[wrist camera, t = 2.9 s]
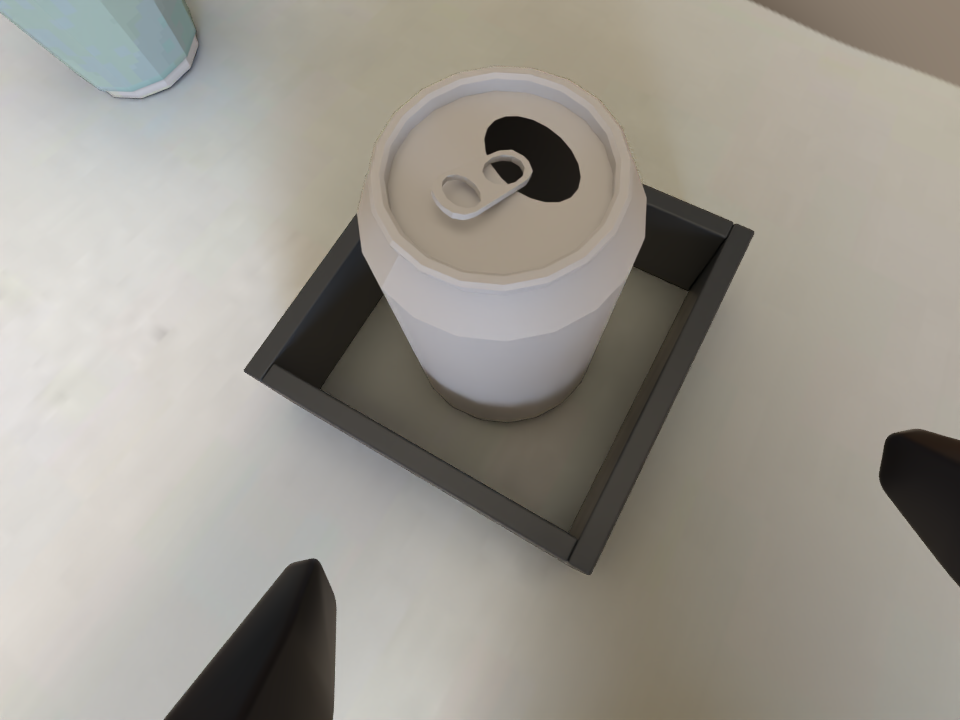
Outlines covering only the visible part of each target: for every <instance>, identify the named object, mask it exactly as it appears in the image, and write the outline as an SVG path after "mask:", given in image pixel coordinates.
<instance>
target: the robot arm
mask: <svg viewBox="0 0 960 720" xmlns="http://www.w3.org/2000/svg"><path fill="white" fill-rule="evenodd" d="M879 480H880V483H881V486H882V488H883V490H884V491H885V493H886V494H887V496H888V497H889V498H890V499H891V501H892V502H893V503H894V505H895V506H896V507H897V508H898V510H899V511H900V512H901V514H902V515H903V516H904V518H905V519H906V520H907V521H908V523H909V524H910V525H911V527H912V528H913V529H914V530H915V532H916V533H917V534H918V536H919V537H920V538H921V540H922V541H923V542H924V543H925V545H926V546H927V547H928V549H929V550H930V551H931V553H932V554H933V555H934V556H935V558H936V559H937V560H938V562H939V563H940V564H941V565H942V567H943V568H944V569H945V570H946V571H947V573H948V574H949V575H950V576H951V578H952V579H953V580H954V581H955V582H956V583H957V584H958V585H959V587H960V440H957V439H953V438H950V437H946V436H943V435H939V434H936V433H933V432H929V431H926V430H922V429H910V430H906V431H901V432H897V433H893V434H891V435H889V436H888V437H887V439H886V441H885V445H884V450H883V455H882V461H881V466H880V471H879ZM335 647H336V600H335V596H334V593H333V590H332V588H331V586H330V584H329V581H328V579H327V577H326V574H325V572H324V570H323V568H322V565H321V563H320V562H319V561H318V560H317V559H308V560H303V561H298V562H294V563H291V564H290V565H289V566H287V567H286V569H285V570H284V571H283V572H282V574H281V575H280V576H279V577H278V578H277V580H276V581H275V582H274V583H273V585H272V586H271V587H270V588H269V590H268V591H267V592H266V593H265V595H264V596H263V597H262V598H261V600H260V601H259V602H258V603H257V605H256V606H255V607H254V608H253V609H252V611H251V612H250V613H249V614H248V616H247V617H246V618H245V619H244V621H243V622H242V623H241V624H240V626H239V627H238V628H237V629H236V631H235V632H234V633H233V634H232V635H231V637H230V638H229V639H228V640H227V642H226V643H225V644H224V645H223V647H222V648H221V649H220V650H219V652H218V653H217V654H216V655H215V657H214V658H213V659H212V660H211V662H210V663H209V664H208V665H207V666H206V668H205V669H204V670H203V671H202V673H201V674H200V675H199V676H198V678H197V679H196V680H195V681H194V683H193V684H192V685H191V686H190V688H189V689H188V690H187V691H186V692H185V694H184V695H183V696H182V697H181V699H180V700H179V701H178V702H177V704H176V705H175V706H174V707H173V709H172V710H171V711H170V712H169V714H168V715H167V716H166V717H165V718H164V720H333V712H334V687H335Z"/></svg>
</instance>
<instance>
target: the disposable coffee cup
mask: <svg viewBox="0 0 960 720" xmlns="http://www.w3.org/2000/svg"><path fill="white" fill-rule="evenodd" d="M0 13H1V14H2V15H4V16H5V17H6V18H7V19H9V20H10V21H11V22H12V23H14V24H15V25H16V26H17V27H19V28H20V29H21V30H22V31H24V32H25V33H26V34H27V35H29V36H30V37H31V38H33V39H34V40H35V41H36V42H38V43H39V44H40V45H41V46H43V47H44V48H45V49H46V50H48V51H49V52H50V53H51V54H53V55H54V56H55V57H56V58H58V59H59V60H60V61H61V62H63V63H64V64H65V65H67V66H68V67H69V68H70V69H72V70H73V71H74V72H75V73H77V74H78V75H79V76H80V77H82V78H83V79H85V80H86V81H88V82H89V83H90V84H92V85H93V86H95V87H96V88H98V89H99V90H101V91H106V92H108V93H109V94H111V95H112V96H114V97H124V98H144V97H146V96H149V95H152V94H154V93H157V92H159V91H162V90H164V89H167V88H169V87H171V86H172V85H173V84H174V83H175V82H176V81H177V80H178V79H179V78H180V77H181V76H182V75H183V74H184V73H185V72H186V71H188V70H189V69H190V68H191V65H192V62H193V59H194V57H195V54H196V51H197V48H198V45H199V44H198V41H197V38H196V35H195V33H196V29H195V26H194V23H193V20H192V17H191V14H190V11H189V8H188V6H187V4H186V2H185V0H0Z"/></svg>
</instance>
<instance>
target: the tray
mask: <svg viewBox="0 0 960 720" xmlns="http://www.w3.org/2000/svg"><path fill="white" fill-rule="evenodd" d="M642 185H643V188H644V191H645V194H646V197H647V201H646V224H645V239H644V241H643V243H642V246H641V248H640V250H639V252H638V255H637V257H636V259H635V262H634V264H633V266H635V267H637V268H640V269H642V270H644V271H646V272H648V273H651V274H653V275H655V276H657V277H659V278H661V279H664V280H666V281H668V282H670V283H672V284H675V285H677V286H679V287H681V288H683V289H686V290H689V292H688V294H687V296H686V298H685V300H684V302H683V304H682V306H681V308H680V310H679V312H678V314H677V316H676V318H675V320H674V322H673V324H672V326H671V328H670V330H669V332H668V334H667V336H666V338H665V340H664V342H663V344H662V346H661V348H660V350H659V352H658V354H657V356H656V358H655V360H654V362H653V364H652V366H651V368H650V370H649V372H648V374H647V376H646V378H645V380H644V382H643V384H642V386H641V388H640V390H639V392H638V394H637V396H636V398H635V400H634V402H633V404H632V406H631V408H630V410H629V412H628V414H627V416H626V418H625V420H624V422H623V424H622V426H621V428H620V430H619V432H618V434H617V436H616V438H615V440H614V442H613V444H612V446H611V448H610V450H609V452H608V454H607V456H606V458H605V460H604V462H603V464H602V466H601V468H600V470H599V472H598V474H597V476H596V478H595V480H594V482H593V484H592V486H591V488H590V490H589V492H588V494H587V496H586V498H585V500H584V502H583V504H582V506H581V508H580V510H579V512H578V514H577V516H576V518H575V520H574V522H573V524H572V526H571V528H570V530H569V532H568V533H567V532H566V531H564V530H562V529H560V528H559V527H557V526H555V525H553V524H552V523H550V522H548V521H547V520H545V519H543V518H541V517H540V516H538V515H536V514H534V513H533V512H531V511H529V510H528V509H526V508H524V507H522V506H521V505H519V504H517V503H515V502H514V501H512V500H510V499H509V498H507V497H505V496H503V495H502V494H500V493H498V492H496V491H495V490H493V489H491V488H490V487H488V486H486V485H484V484H483V483H481V482H479V481H477V480H476V479H474V478H472V477H471V476H469V475H467V474H465V473H464V472H462V471H460V470H458V469H457V468H455V467H453V466H452V465H450V464H448V463H446V462H445V461H443V460H441V459H439V458H438V457H436V456H434V455H433V454H431V453H429V452H427V451H426V450H424V449H422V448H420V447H419V446H417V445H415V444H414V443H412V442H410V441H408V440H407V439H405V438H403V437H401V436H400V435H398V434H396V433H395V432H393V431H391V430H389V429H388V428H386V427H384V426H382V425H381V424H379V423H377V422H376V421H374V420H372V419H370V418H369V417H367V416H365V415H363V414H362V413H360V412H358V411H357V410H355V409H353V408H351V407H350V406H348V405H346V404H344V403H343V402H341V401H339V400H338V399H336V398H334V397H332V396H331V395H329V394H327V393H325V392H324V391H322V390H320V387H321V386H322V384H323V383H324V381H325V380H326V378H327V377H328V375H329V374H330V372H331V371H332V369H333V368H334V366H335V365H336V363H337V362H338V360H339V359H340V357H341V356H342V354H343V353H344V351H345V350H346V348H347V347H348V345H349V344H350V343H351V341H352V340H353V338H354V337H355V335H356V334H357V332H358V331H359V329H360V328H361V326H362V325H363V323H364V322H365V320H366V319H367V317H368V316H369V314H370V313H371V311H372V310H373V308H374V307H375V305H376V304H377V302H378V301H379V299H380V298H381V296H382V295H383V292H382V290H381V288H380V286H379V284H378V282H377V280H376V278H375V276H374V274H373V272H372V270H371V269H370V267H369V265H368V263H367V261H366V259H365V257H364V255H363V253H362V248H361V241H360V233H359V225H358V217H357V214H356V215H355V216H354V218H353V219H352V221H351V222H350V223H349V225H348V226H347V228H346V229H345V230H344V232H343V233H342V234H341V236H340V237H339V239H338V240H337V241H336V243H335V244H334V246H333V247H332V248H331V250H330V251H329V253H328V254H327V255H326V257H325V258H324V259H323V261H322V262H321V264H320V265H319V266H318V268H317V269H316V271H315V272H314V273H313V275H312V276H311V277H310V279H309V280H308V282H307V283H306V284H305V286H304V287H303V289H302V290H301V291H300V293H299V294H298V296H297V297H296V298H295V300H294V301H293V302H292V304H291V305H290V307H289V308H288V309H287V311H286V312H285V314H284V315H283V316H282V318H281V319H280V321H279V322H278V323H277V325H276V326H275V327H274V329H273V330H272V332H271V333H270V334H269V336H268V337H267V339H266V340H265V341H264V343H263V344H262V346H261V347H260V348H259V350H258V351H257V352H256V354H255V355H254V357H253V358H252V359H251V361H250V362H249V364H248V365H247V366H246V368H245V369H244V372H245V373H247V374H248V375H250V376H252V377H253V378H255V379H256V380H258V381H260V382H261V383H263V384H264V385H266V386H268V387H269V388H271V389H272V390H274V391H276V392H277V393H279V394H280V395H282V396H283V397H285V398H287V399H288V400H290V401H291V402H293V403H295V404H297V405H298V406H300V407H302V408H303V409H305V410H307V411H308V412H310V413H312V414H313V415H315V416H317V417H318V418H320V419H322V420H324V421H325V422H327V423H329V424H330V425H332V426H334V427H335V428H337V429H339V430H340V431H342V432H344V433H345V434H347V435H349V436H351V437H352V438H354V439H356V440H357V441H359V442H361V443H362V444H364V445H366V446H367V447H369V448H371V449H373V450H374V451H376V452H378V453H379V454H381V455H383V456H384V457H386V458H388V459H389V460H391V461H393V462H394V463H396V464H398V465H400V466H401V467H403V468H405V469H406V470H408V471H410V472H411V473H413V474H415V475H416V476H418V477H420V478H421V479H423V480H425V481H427V482H428V483H430V484H432V485H433V486H435V487H437V488H438V489H440V490H442V491H443V492H445V493H447V494H449V495H450V496H452V497H454V498H455V499H457V500H459V501H460V502H462V503H464V504H465V505H467V506H469V507H470V508H472V509H474V510H476V511H477V512H479V513H481V514H482V515H484V516H486V517H487V518H489V519H491V520H492V521H494V522H496V523H497V524H499V525H501V526H503V527H504V528H506V529H508V530H509V531H511V532H513V533H514V534H516V535H518V536H519V537H521V538H523V539H524V540H526V541H528V542H530V543H531V544H533V545H535V546H536V547H538V548H540V549H541V550H543V551H545V552H546V553H548V554H550V555H552V556H553V557H555V558H557V559H558V560H560V561H562V562H563V563H565V564H567V565H568V566H570V567H572V568H574V569H576V570H578V571H580V572H582V573H584V574H587V575H590V574H592V572H593V569H594V567H595V565H596V563H597V561H598V559H599V557H600V555H601V553H602V551H603V549H604V546H605V544H606V542H607V540H608V538H609V536H610V534H611V532H612V530H613V528H614V526H615V524H616V521H617V519H618V517H619V515H620V513H621V511H622V509H623V507H624V505H625V503H626V501H627V498H628V496H629V494H630V492H631V490H632V488H633V486H634V484H635V482H636V480H637V478H638V475H639V473H640V471H641V469H642V467H643V465H644V463H645V461H646V459H647V457H648V455H649V452H650V450H651V448H652V446H653V444H654V442H655V440H656V438H657V436H658V434H659V432H660V429H661V427H662V425H663V423H664V421H665V419H666V417H667V415H668V413H669V411H670V409H671V406H672V404H673V402H674V400H675V398H676V396H677V394H678V392H679V390H680V388H681V386H682V383H683V381H684V379H685V377H686V375H687V373H688V371H689V369H690V367H691V365H692V363H693V361H694V358H695V356H696V354H697V352H698V350H699V348H700V346H701V344H702V342H703V340H704V338H705V335H706V333H707V331H708V329H709V327H710V325H711V323H712V321H713V319H714V317H715V315H716V312H717V310H718V308H719V306H720V304H721V302H722V300H723V298H724V296H725V294H726V292H727V289H728V287H729V285H730V283H731V281H732V279H733V277H734V275H735V273H736V271H737V269H738V266H739V264H740V262H741V260H742V258H743V256H744V254H745V252H746V250H747V248H748V246H749V243H750V241H751V239H752V237H753V235H754V231H753V230H751V229H748V228H746V227H744V226H741V225H739V224H734V225H733V222H732V221H729V220H727V219H725V218H722V217H720V216H718V215H715V214H713V213H710V212H708V211H706V210H703V209H701V208H699V207H696V206H694V205H692V204H689V203H687V202H684V201H682V200H680V199H677V198H675V197H673V196H670V195H668V194H665V193H663V192H661V191H658V190H656V189H654V188H651V187H649V186H647V185H644V184H642Z"/></svg>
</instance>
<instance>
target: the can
mask: <svg viewBox="0 0 960 720" xmlns="http://www.w3.org/2000/svg"><path fill="white" fill-rule="evenodd" d="M646 201H647V197H646V194H645V191H644V188H643V185H642V182H641V179H640V176H639V173H638V170H637V167H636V164H635V161H634V160H633V158H632V155H631V152H630V149H629V146H628V143H627V140H626V137H625V134H624V131H623V128H622V127H621V126H620V124H619V123H618V122H617V121H616V119H615V118H614V117H613V116H612V114H611V113H610V112H609V111H608V109H607V108H606V107H605V106H604V104H603V103H602V102H601V100H599V99H598V98H596V97H595V96H593V95H592V94H590V93H589V92H587V91H586V90H584V89H583V88H581V87H580V86H578V85H577V84H575V83H574V82H572V81H571V80H569V79H566V78H562V77H559V76H556V75H553V74H550V73H547V72H544V71H541V70H538V69H534V68H523V67H506V66H491V67H486V68H480V69H475V70H470V71H465V72H459V73H455V74H453V75H451V76H449V77H447V78H445V79H443V80H440V81H438V82H436V83H434V84H432V85H430V86H428V87H425V88H423V89H421V90H420V91H419V92H418V93H417V94H416V95H414V96H413V97H412V98H411V99H410V100H409V101H407V102H406V103H405V104H404V105H403V106H401V107H400V108H399V109H398V110H397V111H396V112H394V113H393V115H392V117H391V118H390V120H389V121H388V123H387V124H386V126H385V128H384V129H383V131H382V132H381V134H380V136H379V137H378V139H377V140H376V142H375V144H374V148H373V152H372V157H371V161H370V165H369V169H368V173H367V174H366V177H365V181H364V185H363V189H362V194H361V198H360V202H359V207H358V211H357V217H358V225H359V233H360V241H361V248H362V253H363V255H364V257H365V259H366V261H367V263H368V265H369V267H370V269H371V270H372V272H373V274H374V276H375V278H376V280H377V282H378V284H379V286H380V288H381V290H382V292H383V293H384V295H385V297H386V299H387V301H388V303H389V305H390V307H391V309H392V311H393V313H394V315H395V317H396V318H397V320H398V322H399V324H400V326H401V328H402V330H403V332H404V334H405V336H406V338H407V340H408V342H409V343H410V345H411V347H412V349H413V351H414V353H415V355H416V357H417V359H418V361H419V363H420V365H421V366H422V368H423V370H424V372H425V374H426V376H427V378H428V380H429V381H430V383H431V385H432V387H433V389H434V390H436V391H437V392H438V393H439V394H440V395H441V396H442V397H443V398H444V399H445V400H446V401H447V402H448V403H450V404H451V405H452V406H453V407H454V408H456V409H459V410H461V411H463V412H465V413H467V414H470V415H472V416H474V417H476V418H478V419H484V420H492V421H501V422H513V421H518V420H523V419H528V418H533V417H537V416H539V415H541V414H543V413H545V412H547V411H548V410H550V409H552V408H554V407H556V406H557V405H559V404H561V403H562V402H563V401H564V400H565V399H566V398H567V397H568V396H569V395H570V394H571V393H572V392H573V390H574V389H575V388H576V387H577V386H578V385H579V384H580V383H581V381H582V379H583V377H584V374H585V372H586V370H587V368H588V365H589V363H590V361H591V359H592V356H593V354H594V352H595V350H596V347H597V345H598V343H599V341H600V338H601V336H602V334H603V332H604V329H605V327H606V325H607V323H608V320H609V318H610V316H611V314H612V311H613V309H614V307H615V305H616V302H617V300H618V298H619V296H620V293H621V291H622V289H623V287H624V284H625V282H626V280H627V278H628V275H629V273H630V271H631V268H632V266H633V264H634V262H635V259H636V257H637V255H638V252H639V250H640V248H641V246H642V243H643V241H644V239H645V224H646Z"/></svg>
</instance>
